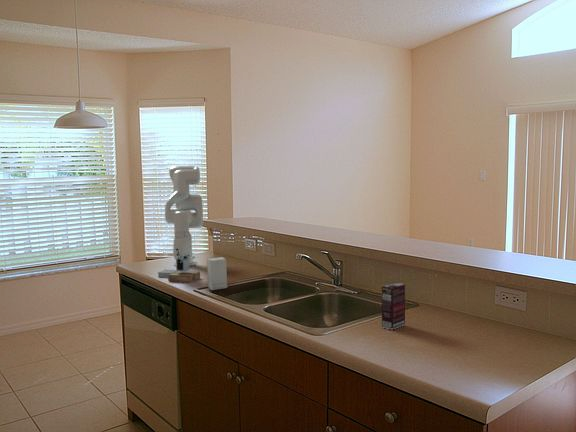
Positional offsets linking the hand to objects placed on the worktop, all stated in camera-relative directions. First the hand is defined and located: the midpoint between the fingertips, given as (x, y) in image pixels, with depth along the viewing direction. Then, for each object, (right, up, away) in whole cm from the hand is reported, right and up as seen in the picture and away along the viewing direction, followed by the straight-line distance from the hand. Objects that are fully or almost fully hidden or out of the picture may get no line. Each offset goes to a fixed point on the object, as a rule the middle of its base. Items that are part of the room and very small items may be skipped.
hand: (182, 268), depth 277 cm
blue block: (0, -1, 0) cm, 1 cm away
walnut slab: (+1, -6, 0) cm, 6 cm away
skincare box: (+21, -8, -19) cm, 29 cm away
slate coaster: (-10, -5, +10) cm, 15 cm away
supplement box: (+94, -14, -82) cm, 126 cm away
